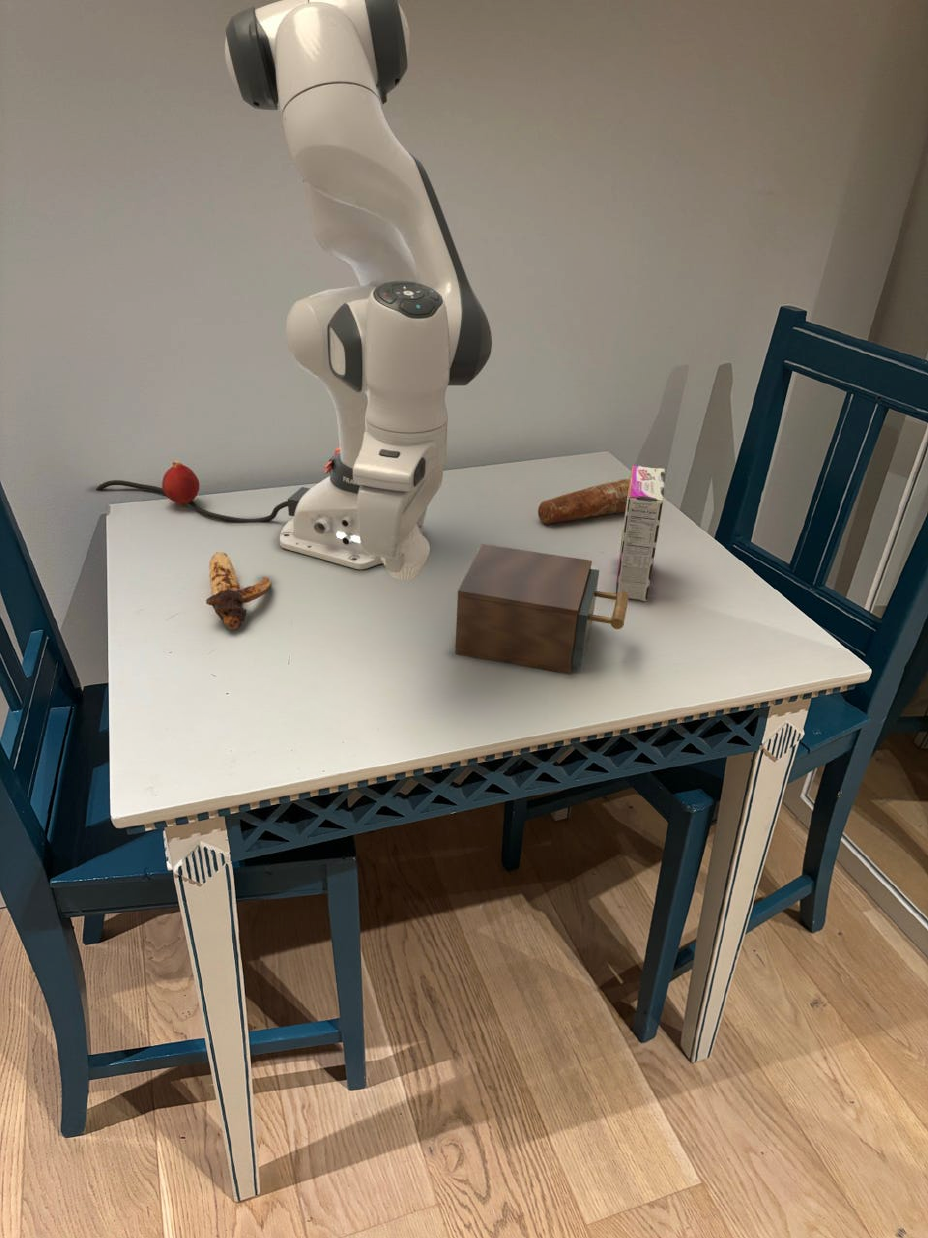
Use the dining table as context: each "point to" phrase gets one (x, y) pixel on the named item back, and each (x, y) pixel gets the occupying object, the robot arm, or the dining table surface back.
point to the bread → (586, 502)
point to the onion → (180, 484)
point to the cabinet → (521, 607)
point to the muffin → (412, 555)
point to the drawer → (587, 615)
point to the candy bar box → (640, 531)
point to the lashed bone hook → (231, 591)
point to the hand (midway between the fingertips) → (404, 553)
